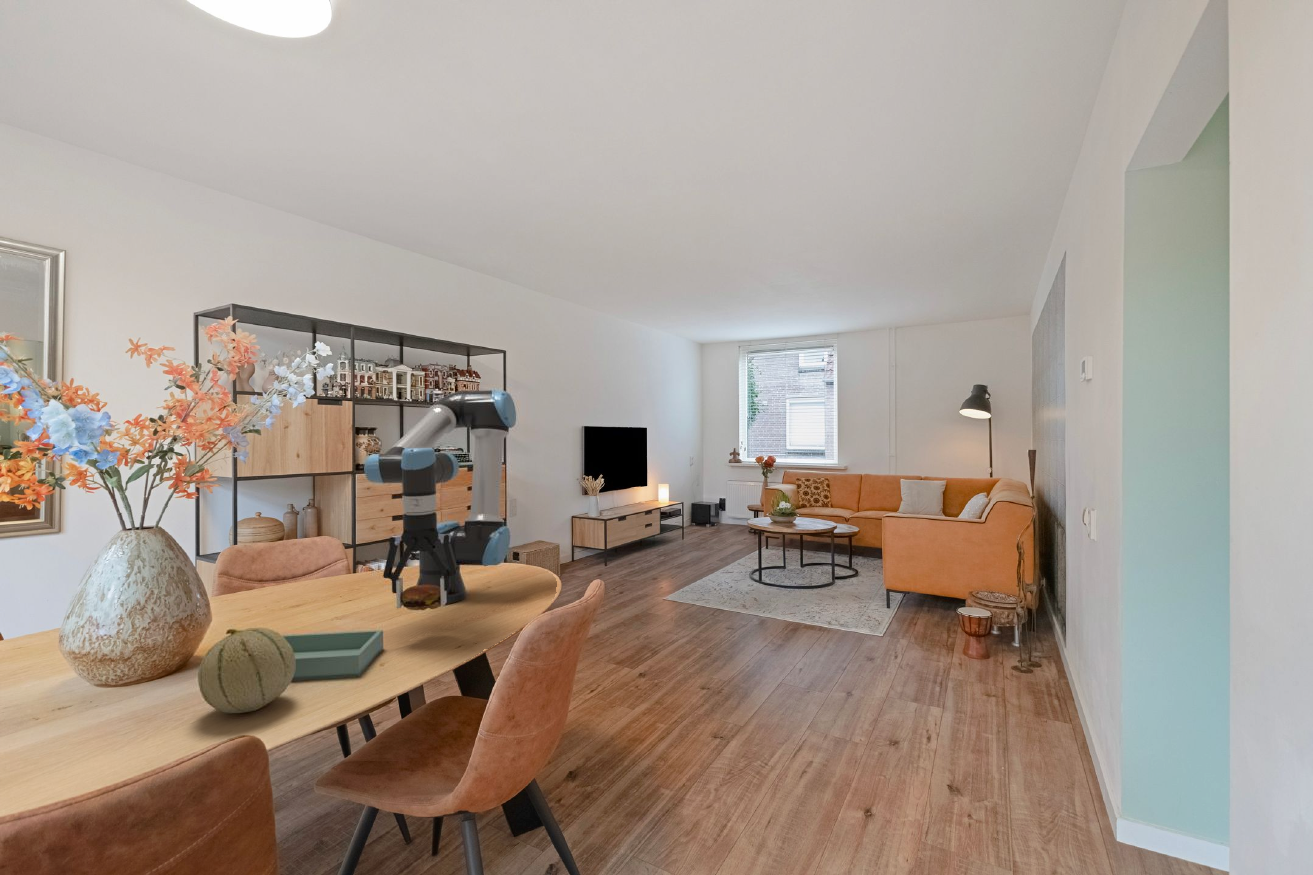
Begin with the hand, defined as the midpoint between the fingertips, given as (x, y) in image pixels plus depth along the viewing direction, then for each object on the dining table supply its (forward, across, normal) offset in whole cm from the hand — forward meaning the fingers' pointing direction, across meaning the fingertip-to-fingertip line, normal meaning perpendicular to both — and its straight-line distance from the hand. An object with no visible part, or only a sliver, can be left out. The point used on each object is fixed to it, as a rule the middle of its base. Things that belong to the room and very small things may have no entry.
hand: (422, 604), depth 142 cm
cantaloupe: (+8, -23, -31) cm, 40 cm away
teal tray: (+9, -20, -11) cm, 25 cm away
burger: (+1, 0, 0) cm, 1 cm away
